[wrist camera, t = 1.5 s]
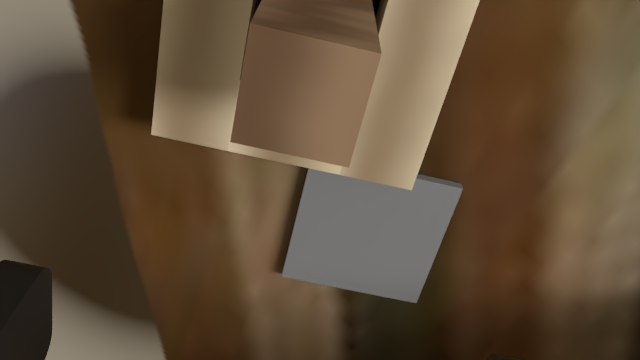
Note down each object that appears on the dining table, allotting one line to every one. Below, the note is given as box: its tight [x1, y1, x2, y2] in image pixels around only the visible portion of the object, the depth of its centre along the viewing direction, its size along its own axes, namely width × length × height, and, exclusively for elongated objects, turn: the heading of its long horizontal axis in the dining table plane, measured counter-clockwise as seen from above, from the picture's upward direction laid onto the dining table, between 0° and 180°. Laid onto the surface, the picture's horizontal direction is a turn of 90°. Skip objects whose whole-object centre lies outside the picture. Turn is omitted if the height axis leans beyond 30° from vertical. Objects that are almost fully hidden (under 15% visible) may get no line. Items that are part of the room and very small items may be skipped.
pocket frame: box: [151, 0, 480, 190], centre depth 29 cm, size 14×14×3 cm
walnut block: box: [230, 0, 382, 168], centre depth 26 cm, size 4×4×11 cm
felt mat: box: [282, 168, 463, 303], centre depth 37 cm, size 9×9×1 cm
